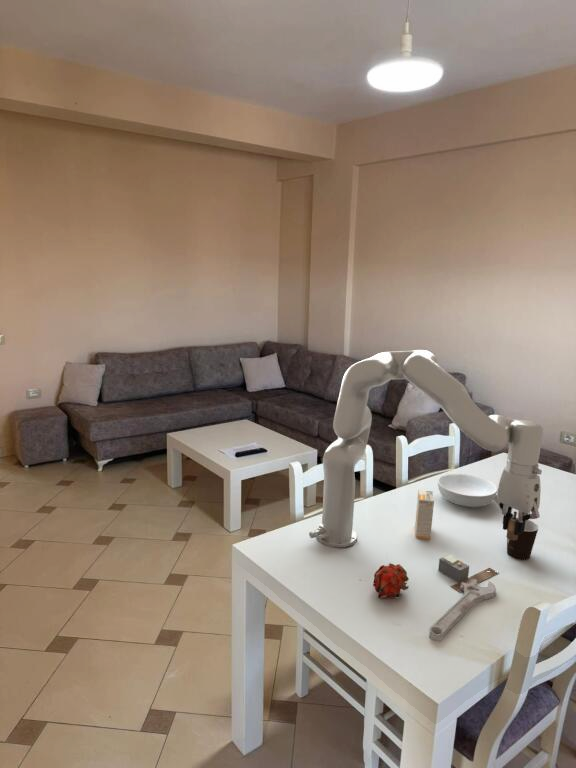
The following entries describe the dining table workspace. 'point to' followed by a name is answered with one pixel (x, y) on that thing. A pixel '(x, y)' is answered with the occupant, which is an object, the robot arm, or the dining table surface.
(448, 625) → the wrench
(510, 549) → the coffee mug
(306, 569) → the dining table surface
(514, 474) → the robot arm
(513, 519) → the awl
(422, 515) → the supplement box
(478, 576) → the strip
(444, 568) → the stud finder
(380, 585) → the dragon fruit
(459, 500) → the serving bowl
